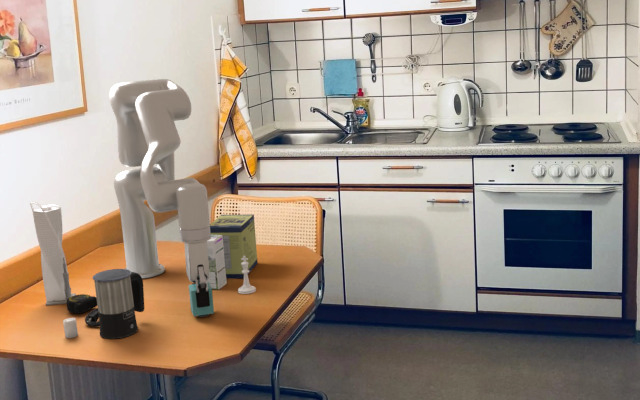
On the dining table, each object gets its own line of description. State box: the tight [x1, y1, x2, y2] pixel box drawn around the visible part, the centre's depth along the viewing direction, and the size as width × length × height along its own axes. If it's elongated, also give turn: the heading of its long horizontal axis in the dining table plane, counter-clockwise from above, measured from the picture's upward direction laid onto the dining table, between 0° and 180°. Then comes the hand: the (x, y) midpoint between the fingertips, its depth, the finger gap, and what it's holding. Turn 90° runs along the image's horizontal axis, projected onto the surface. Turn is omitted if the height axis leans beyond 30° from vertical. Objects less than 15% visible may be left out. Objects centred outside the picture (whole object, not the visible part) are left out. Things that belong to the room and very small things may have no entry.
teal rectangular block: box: [188, 282, 215, 317], centre depth 206 cm, size 5×5×7 cm
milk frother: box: [84, 268, 145, 340], centre depth 200 cm, size 14×16×15 cm
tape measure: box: [66, 293, 98, 314], centre depth 215 cm, size 7×7×4 cm
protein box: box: [210, 214, 258, 280], centre depth 241 cm, size 10×16×16 cm
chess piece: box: [237, 256, 257, 295], centre depth 222 cm, size 5×5×10 cm
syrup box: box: [207, 235, 228, 290], centre depth 227 cm, size 6×6×14 cm
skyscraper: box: [29, 201, 77, 306], centre depth 222 cm, size 8×8×28 cm
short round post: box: [62, 317, 79, 339], centre depth 197 cm, size 3×3×4 cm
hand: (201, 301), depth 206 cm, fingers open, 6 cm apart
